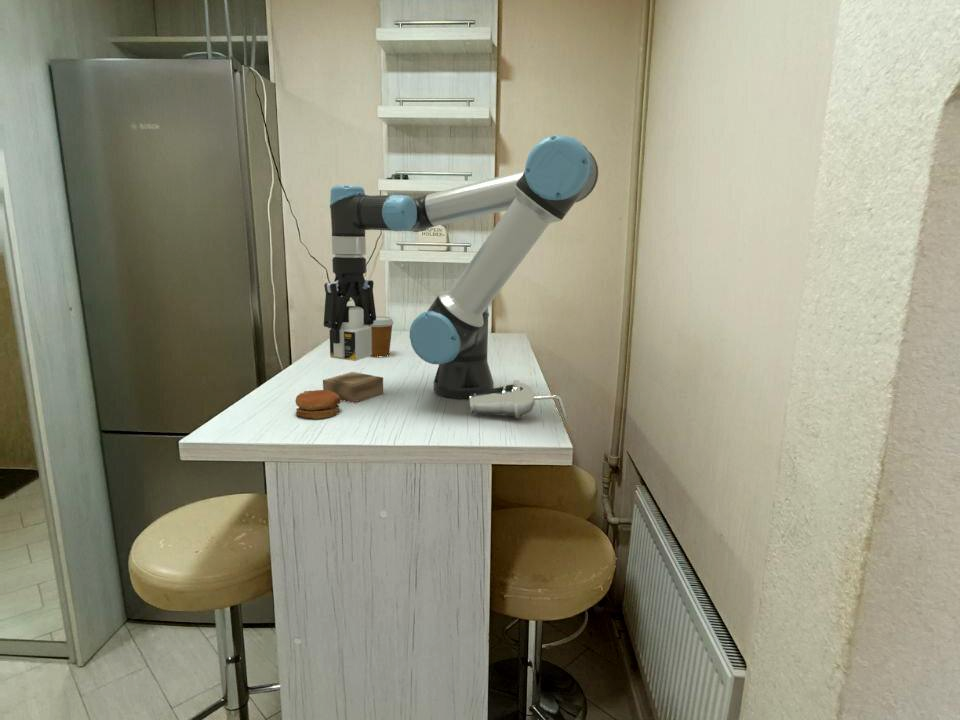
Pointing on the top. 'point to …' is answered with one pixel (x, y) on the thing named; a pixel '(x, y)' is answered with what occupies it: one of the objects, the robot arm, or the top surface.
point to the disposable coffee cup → (381, 335)
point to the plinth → (354, 386)
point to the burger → (317, 404)
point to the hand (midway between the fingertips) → (351, 353)
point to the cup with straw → (508, 400)
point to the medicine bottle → (354, 335)
